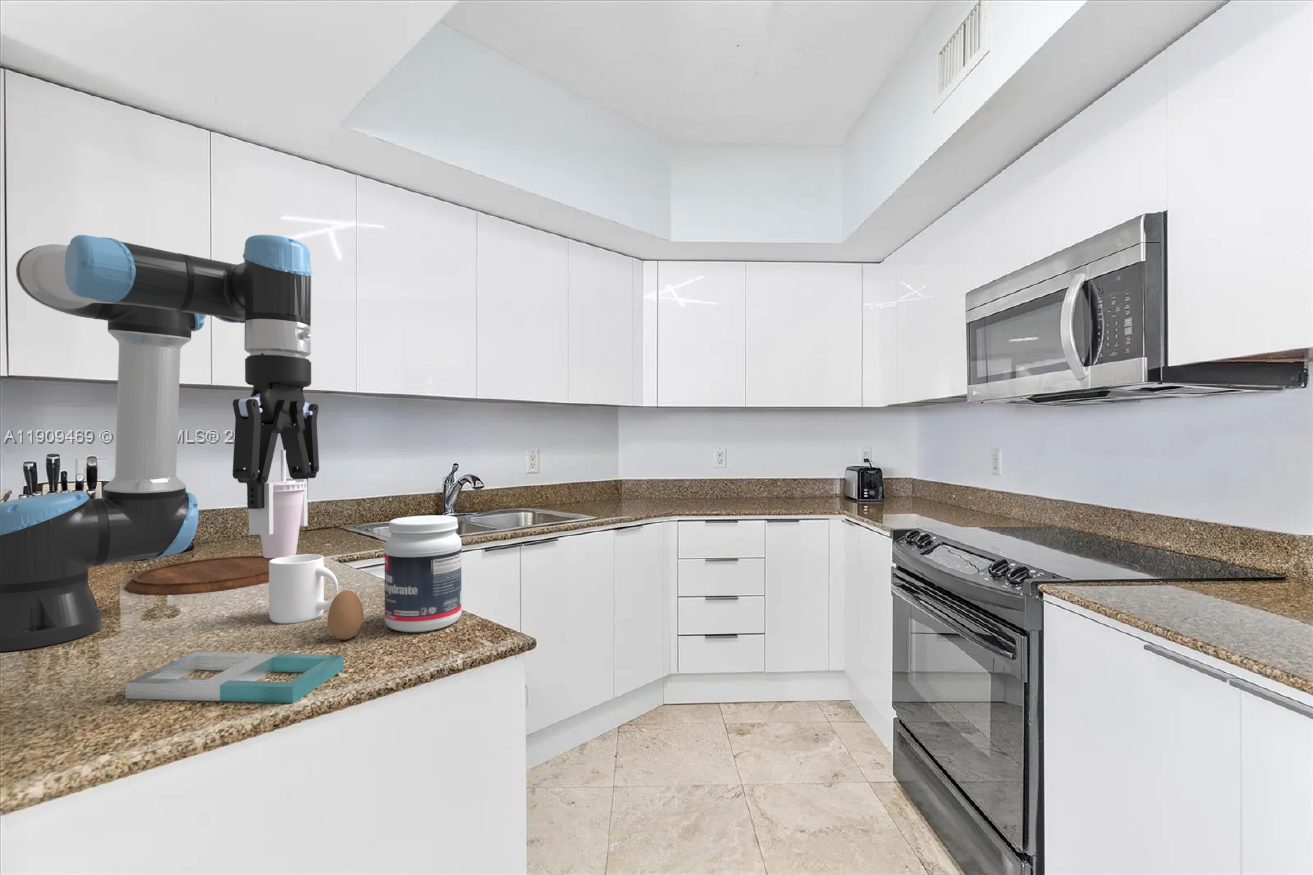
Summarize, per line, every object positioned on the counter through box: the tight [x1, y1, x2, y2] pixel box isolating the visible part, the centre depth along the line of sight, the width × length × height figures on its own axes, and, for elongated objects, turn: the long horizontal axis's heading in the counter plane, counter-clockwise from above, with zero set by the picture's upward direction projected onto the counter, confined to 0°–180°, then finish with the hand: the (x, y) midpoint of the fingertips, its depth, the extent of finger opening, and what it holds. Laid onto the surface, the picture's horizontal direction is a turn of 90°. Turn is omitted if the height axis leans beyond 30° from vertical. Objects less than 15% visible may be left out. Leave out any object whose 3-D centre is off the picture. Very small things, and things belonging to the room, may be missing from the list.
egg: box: [327, 589, 364, 641], centre depth 100 cm, size 5×5×8 cm
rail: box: [124, 651, 345, 704], centre depth 82 cm, size 22×11×2 cm, turn 86°
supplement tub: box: [383, 514, 463, 633], centre depth 108 cm, size 13×13×18 cm
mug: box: [268, 553, 339, 625], centre depth 112 cm, size 9×12×11 cm
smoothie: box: [259, 449, 307, 558], centre depth 82 cm, size 6×6×14 cm
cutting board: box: [125, 555, 275, 596], centre depth 143 cm, size 32×32×3 cm
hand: (279, 529), depth 82 cm, fingers closed on smoothie, 6 cm apart
